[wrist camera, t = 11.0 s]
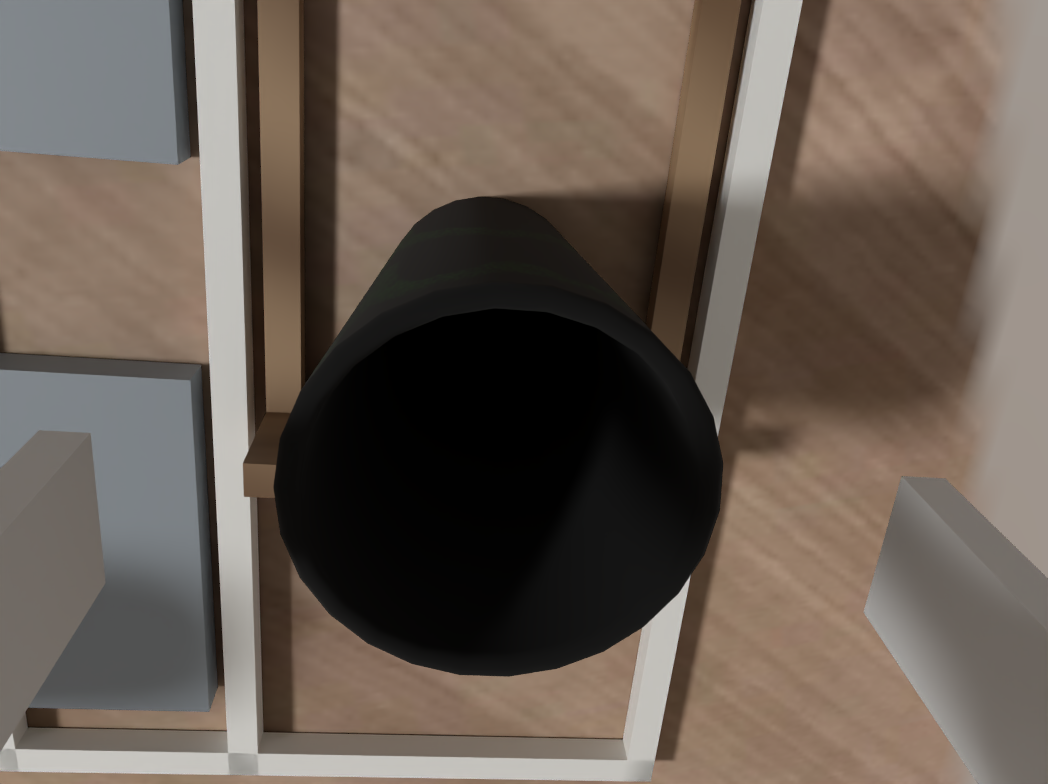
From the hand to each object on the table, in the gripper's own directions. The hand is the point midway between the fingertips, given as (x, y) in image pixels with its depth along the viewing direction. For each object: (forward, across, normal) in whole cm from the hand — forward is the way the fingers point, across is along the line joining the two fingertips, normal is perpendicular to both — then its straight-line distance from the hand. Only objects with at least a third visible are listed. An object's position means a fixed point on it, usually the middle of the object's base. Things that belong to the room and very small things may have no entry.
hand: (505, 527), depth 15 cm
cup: (+13, 0, 0) cm, 13 cm away
